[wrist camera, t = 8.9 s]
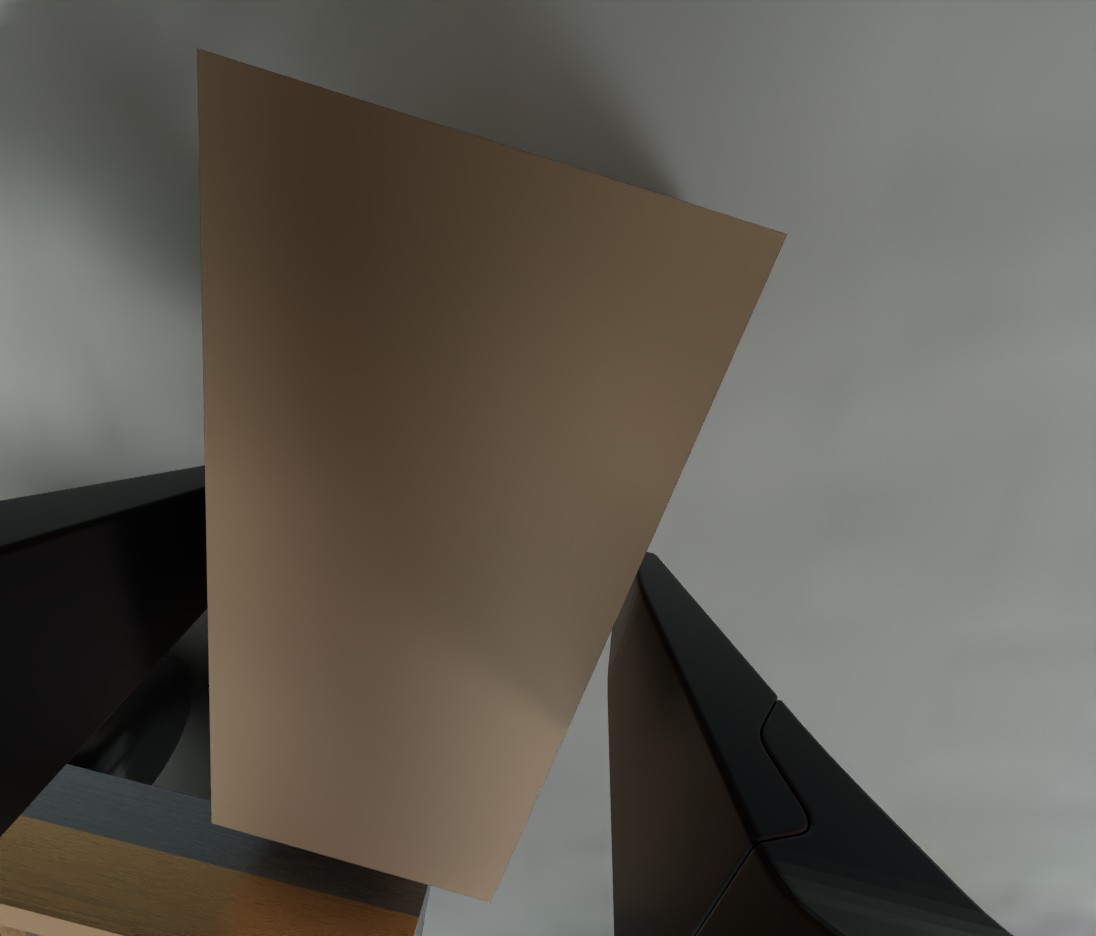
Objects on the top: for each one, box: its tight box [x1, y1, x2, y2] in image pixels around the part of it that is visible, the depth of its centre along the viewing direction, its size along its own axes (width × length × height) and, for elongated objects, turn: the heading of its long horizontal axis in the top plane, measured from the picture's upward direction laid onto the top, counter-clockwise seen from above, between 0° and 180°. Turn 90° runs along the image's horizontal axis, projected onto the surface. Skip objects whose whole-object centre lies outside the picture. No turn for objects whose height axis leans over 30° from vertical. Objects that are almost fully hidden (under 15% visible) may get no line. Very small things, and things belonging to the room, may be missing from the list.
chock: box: [197, 48, 787, 903], centre depth 9 cm, size 5×11×5 cm, turn 164°
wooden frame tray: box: [0, 656, 430, 936], centre depth 14 cm, size 10×14×6 cm
